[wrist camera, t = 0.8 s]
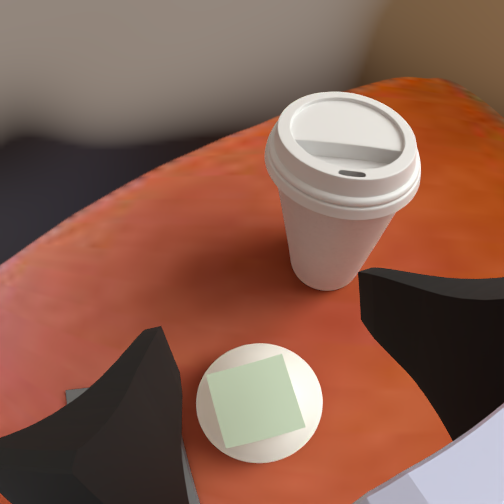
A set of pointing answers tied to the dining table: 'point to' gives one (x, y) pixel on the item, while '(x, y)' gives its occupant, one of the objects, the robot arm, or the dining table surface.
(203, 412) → the white shallow dome
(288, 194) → the coffee cup
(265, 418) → the pale green square block
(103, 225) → the dining table surface
